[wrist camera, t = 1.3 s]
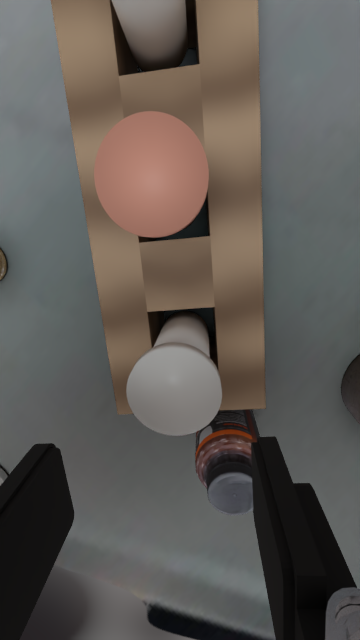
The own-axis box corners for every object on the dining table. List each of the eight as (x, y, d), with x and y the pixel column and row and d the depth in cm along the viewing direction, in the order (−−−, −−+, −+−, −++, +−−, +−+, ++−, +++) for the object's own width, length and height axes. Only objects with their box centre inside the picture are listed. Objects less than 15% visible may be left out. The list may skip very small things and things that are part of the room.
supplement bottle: (188, 395, 33) (181, 473, 22) (240, 378, 32) (259, 450, 21) (208, 439, 34) (211, 534, 23) (258, 424, 33) (286, 515, 22)
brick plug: (208, 235, 22) (212, 231, 13) (145, 240, 23) (103, 242, 13) (203, 164, 21) (204, 103, 12) (137, 172, 22) (85, 119, 12)
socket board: (250, 366, 31) (265, 408, 24) (138, 372, 32) (117, 414, 25) (237, -14, 23) (255, -140, 15) (88, 11, 24) (35, -94, 17)
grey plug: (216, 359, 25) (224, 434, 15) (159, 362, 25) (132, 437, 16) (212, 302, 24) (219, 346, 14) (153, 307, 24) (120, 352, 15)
